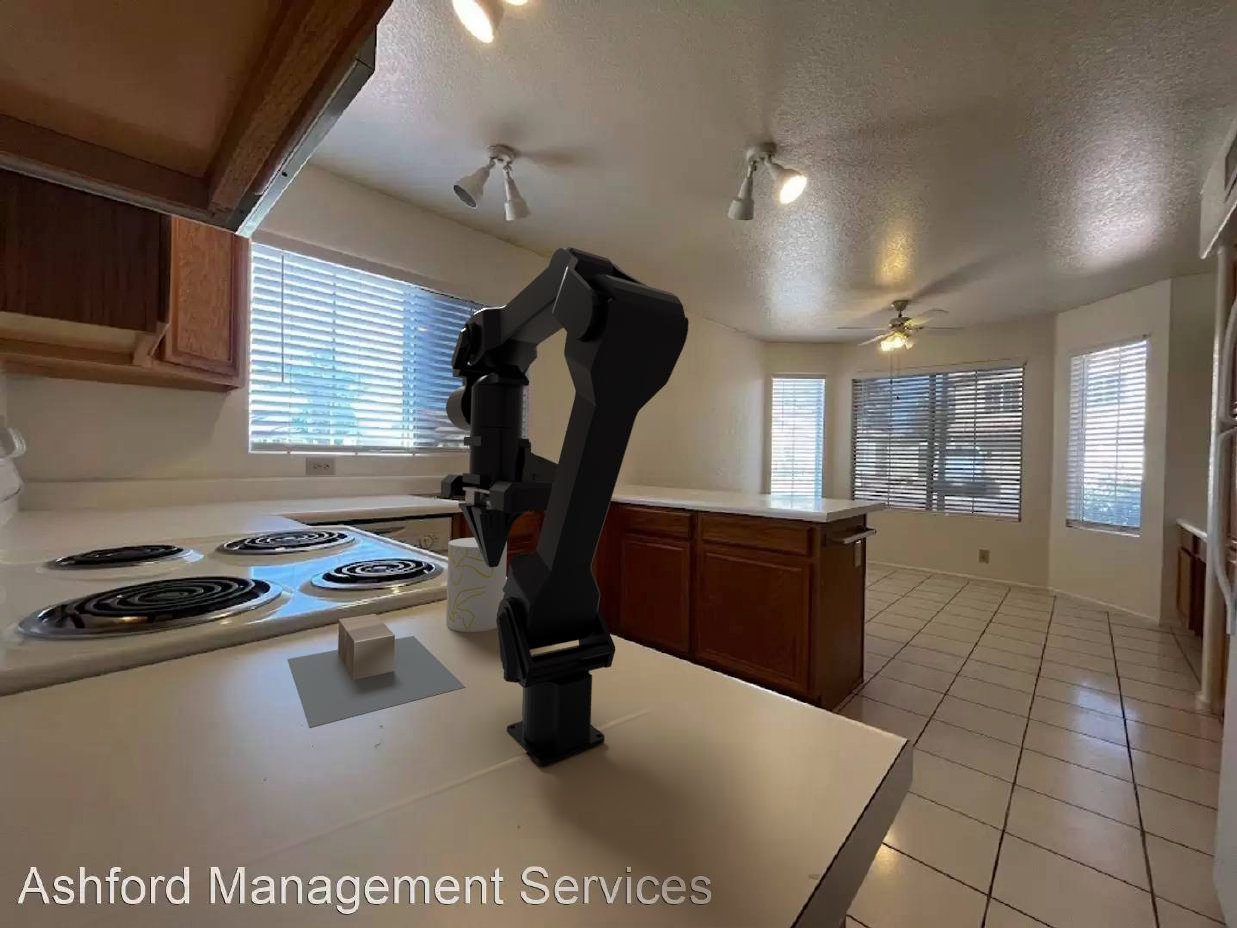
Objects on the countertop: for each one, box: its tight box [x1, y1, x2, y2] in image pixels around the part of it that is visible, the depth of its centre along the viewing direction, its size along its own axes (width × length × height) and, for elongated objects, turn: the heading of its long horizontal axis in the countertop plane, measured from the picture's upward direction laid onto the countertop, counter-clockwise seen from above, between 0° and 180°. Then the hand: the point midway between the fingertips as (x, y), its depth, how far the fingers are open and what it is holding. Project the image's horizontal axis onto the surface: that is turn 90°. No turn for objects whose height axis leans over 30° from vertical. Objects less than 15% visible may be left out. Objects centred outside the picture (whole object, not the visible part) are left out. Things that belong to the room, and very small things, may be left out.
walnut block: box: [337, 613, 396, 680], centre depth 59 cm, size 4×4×9 cm
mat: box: [287, 635, 466, 729], centre depth 56 cm, size 18×14×1 cm
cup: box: [445, 537, 508, 633], centre depth 74 cm, size 8×8×12 cm
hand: (492, 566), depth 58 cm, fingers closed
